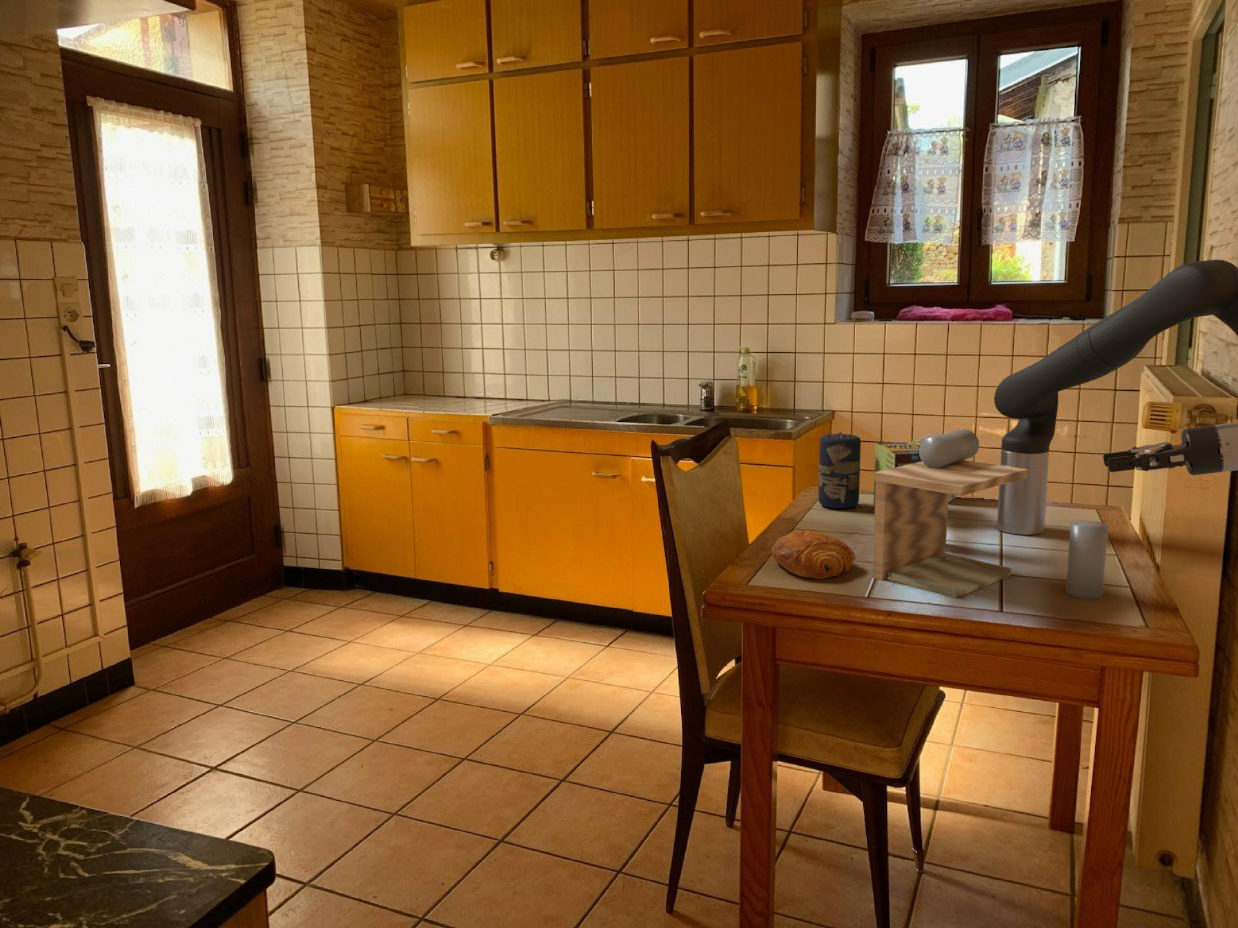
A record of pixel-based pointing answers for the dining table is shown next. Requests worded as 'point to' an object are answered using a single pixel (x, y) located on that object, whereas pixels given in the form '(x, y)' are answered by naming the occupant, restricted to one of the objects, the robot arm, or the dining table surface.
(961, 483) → the wooden shelf stand
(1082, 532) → the grey rounded cylinder
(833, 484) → the canister
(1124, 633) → the dining table surface
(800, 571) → the croissant
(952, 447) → the grey lying cylinder
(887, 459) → the protein box
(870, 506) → the dining table surface
